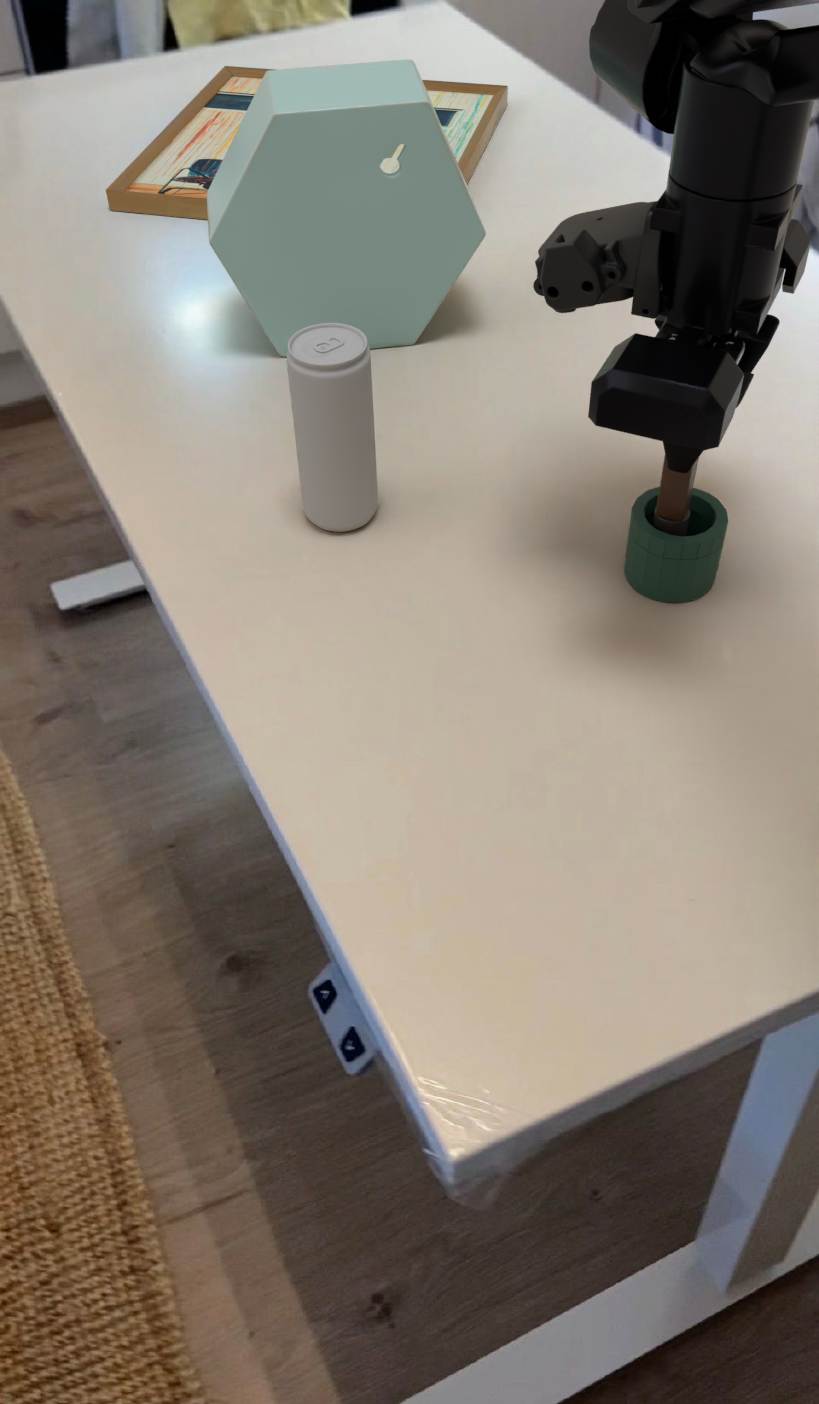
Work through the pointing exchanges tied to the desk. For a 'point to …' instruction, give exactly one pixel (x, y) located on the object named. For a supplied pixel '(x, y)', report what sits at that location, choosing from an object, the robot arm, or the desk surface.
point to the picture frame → (205, 128)
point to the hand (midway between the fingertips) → (683, 460)
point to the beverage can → (334, 424)
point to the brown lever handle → (674, 501)
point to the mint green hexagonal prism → (342, 204)
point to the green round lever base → (675, 549)
